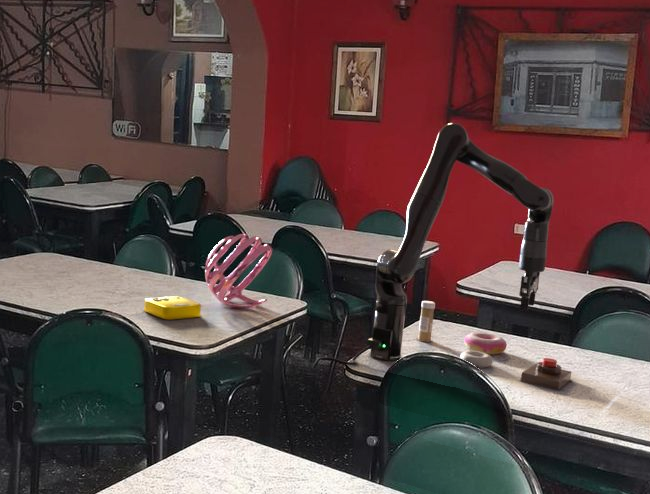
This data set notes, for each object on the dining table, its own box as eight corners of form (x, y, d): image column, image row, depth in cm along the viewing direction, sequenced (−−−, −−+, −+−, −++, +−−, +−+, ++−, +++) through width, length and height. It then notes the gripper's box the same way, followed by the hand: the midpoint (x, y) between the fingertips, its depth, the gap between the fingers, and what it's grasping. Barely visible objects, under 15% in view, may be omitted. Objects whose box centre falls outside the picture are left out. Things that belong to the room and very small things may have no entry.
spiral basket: (305, 257, 320) (252, 210, 324) (269, 284, 297) (212, 233, 301) (270, 305, 335) (219, 260, 339) (232, 334, 312) (179, 285, 316)
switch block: (557, 390, 246) (560, 375, 245) (520, 381, 252) (522, 366, 251) (570, 380, 258) (572, 365, 257) (534, 371, 264) (536, 357, 263)
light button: (553, 369, 253) (554, 362, 252) (540, 366, 255) (541, 359, 254) (557, 366, 256) (558, 360, 256) (544, 363, 258) (545, 357, 258)
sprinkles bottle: (433, 341, 290) (438, 303, 288) (423, 342, 288) (428, 303, 286) (424, 338, 294) (429, 300, 292) (414, 338, 292) (419, 300, 289)
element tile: (165, 320, 286) (166, 306, 285) (142, 310, 297) (143, 297, 296) (202, 316, 296) (203, 303, 295) (178, 307, 307) (179, 294, 306)
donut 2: (490, 371, 260) (493, 363, 269) (491, 360, 259) (494, 352, 269) (457, 365, 263) (461, 357, 272) (458, 355, 262) (463, 347, 272)
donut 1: (456, 348, 284) (457, 333, 283) (476, 343, 294) (478, 329, 293) (491, 358, 275) (493, 343, 274) (512, 352, 285) (514, 338, 284)
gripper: (525, 250, 263) (520, 301, 266) (515, 255, 250) (509, 309, 253) (550, 253, 259) (544, 305, 262) (540, 259, 247) (534, 313, 250)
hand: (527, 307), depth 258 cm, fingers open, 8 cm apart
